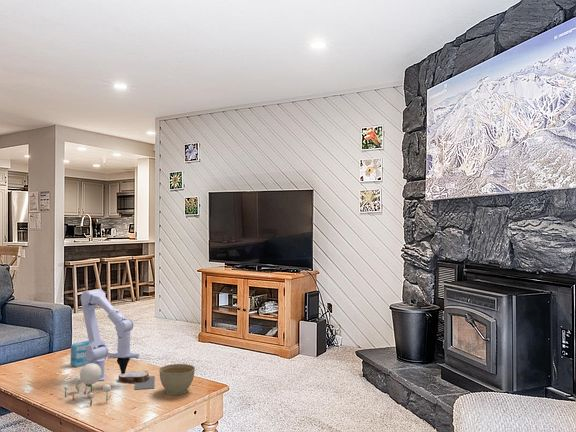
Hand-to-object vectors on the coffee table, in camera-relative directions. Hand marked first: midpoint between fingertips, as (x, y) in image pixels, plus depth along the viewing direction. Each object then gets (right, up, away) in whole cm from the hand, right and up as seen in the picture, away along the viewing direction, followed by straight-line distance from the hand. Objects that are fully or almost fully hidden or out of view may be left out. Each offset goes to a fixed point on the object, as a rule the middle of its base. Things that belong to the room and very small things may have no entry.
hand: (123, 373), depth 232 cm
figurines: (-9, -5, -19) cm, 22 cm away
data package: (-33, -6, +31) cm, 46 cm away
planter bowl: (+28, -6, -9) cm, 30 cm away
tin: (+3, -4, +2) cm, 5 cm away
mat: (+10, -6, +3) cm, 11 cm away
